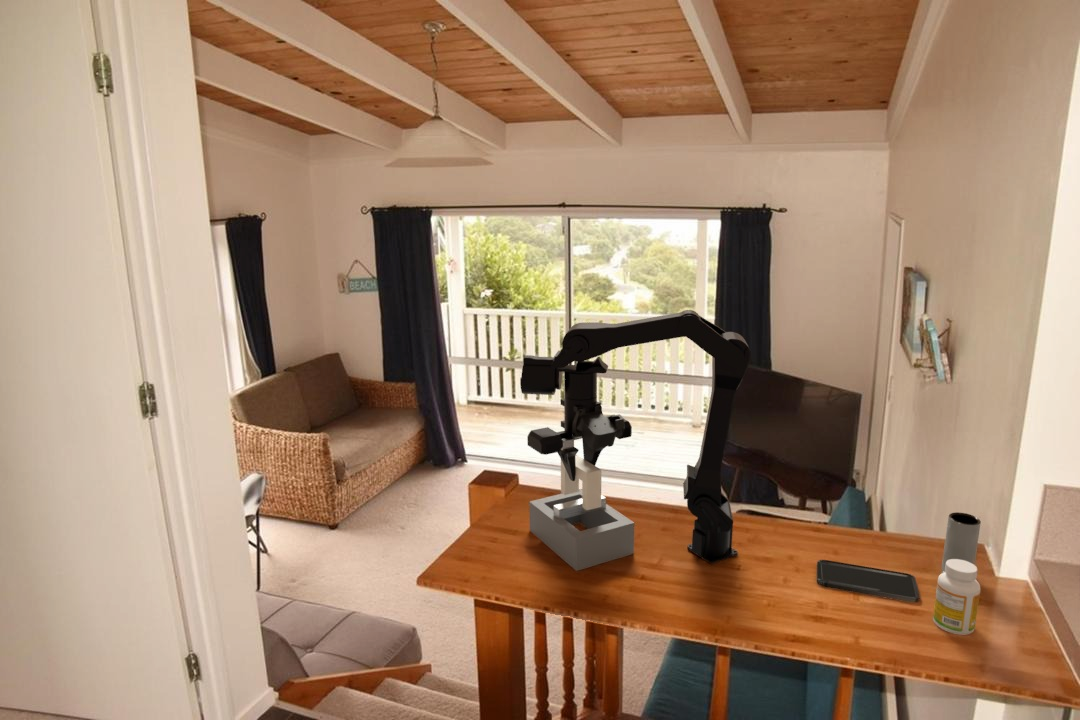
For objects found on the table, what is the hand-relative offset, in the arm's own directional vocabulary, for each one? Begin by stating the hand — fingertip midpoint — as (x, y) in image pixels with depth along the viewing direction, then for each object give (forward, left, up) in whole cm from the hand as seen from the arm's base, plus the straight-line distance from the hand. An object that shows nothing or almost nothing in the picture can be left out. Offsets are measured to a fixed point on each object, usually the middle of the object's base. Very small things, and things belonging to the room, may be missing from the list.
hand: (580, 478), depth 127 cm
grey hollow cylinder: (-48, +41, -13) cm, 65 cm away
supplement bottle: (-34, +49, -13) cm, 61 cm away
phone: (-33, +35, -13) cm, 50 cm away
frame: (0, 0, -12) cm, 13 cm away
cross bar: (0, 0, -6) cm, 6 cm away
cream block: (0, 0, -4) cm, 4 cm away
